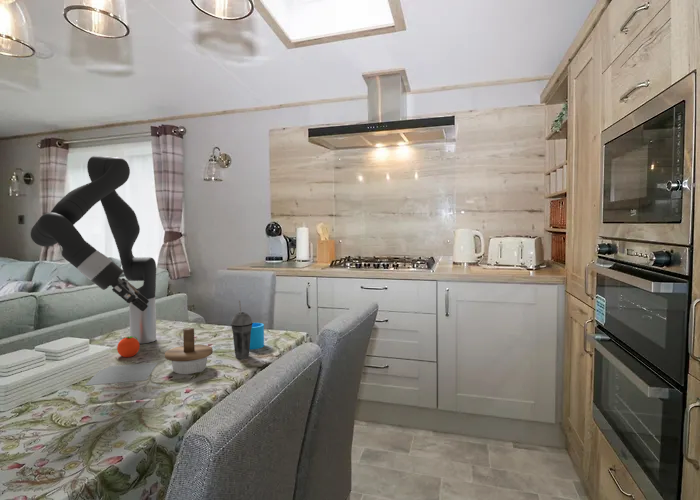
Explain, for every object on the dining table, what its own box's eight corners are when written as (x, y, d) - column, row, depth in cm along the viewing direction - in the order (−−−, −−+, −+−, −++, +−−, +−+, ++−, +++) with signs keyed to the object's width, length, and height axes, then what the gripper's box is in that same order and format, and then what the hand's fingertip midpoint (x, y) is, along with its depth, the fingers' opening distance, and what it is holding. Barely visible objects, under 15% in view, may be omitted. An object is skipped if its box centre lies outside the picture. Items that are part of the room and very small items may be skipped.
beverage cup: (256, 354, 144) (256, 298, 143) (245, 361, 137) (244, 302, 136) (239, 352, 147) (238, 297, 146) (227, 358, 140) (226, 301, 139)
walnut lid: (169, 349, 134) (169, 325, 133) (214, 346, 137) (214, 322, 136) (160, 363, 120) (159, 336, 119) (210, 359, 123) (210, 333, 123)
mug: (264, 348, 152) (264, 327, 151) (241, 350, 150) (241, 328, 149) (263, 340, 163) (263, 319, 163) (242, 341, 161) (242, 321, 161)
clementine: (129, 352, 147) (129, 332, 146) (146, 353, 145) (146, 334, 145) (112, 359, 139) (111, 338, 139) (130, 360, 138) (129, 340, 137)
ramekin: (191, 378, 122) (191, 361, 121) (162, 374, 125) (162, 357, 125) (215, 366, 132) (215, 350, 132) (188, 362, 136) (187, 347, 136)
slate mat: (103, 368, 130) (103, 366, 130) (157, 364, 134) (157, 362, 134) (84, 387, 115) (84, 385, 115) (146, 381, 119) (146, 380, 119)
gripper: (108, 262, 112) (155, 300, 117) (113, 258, 124) (156, 293, 130) (86, 282, 110) (135, 320, 115) (93, 276, 123) (137, 311, 128)
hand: (146, 306), depth 122 cm, fingers open, 8 cm apart
